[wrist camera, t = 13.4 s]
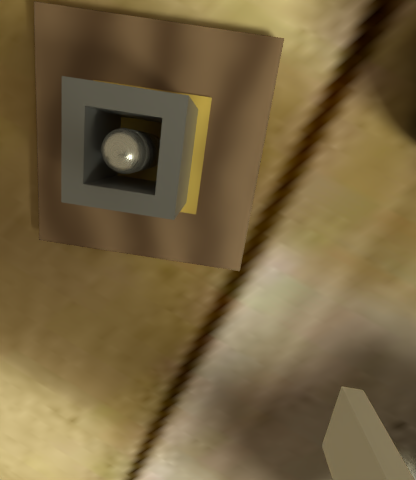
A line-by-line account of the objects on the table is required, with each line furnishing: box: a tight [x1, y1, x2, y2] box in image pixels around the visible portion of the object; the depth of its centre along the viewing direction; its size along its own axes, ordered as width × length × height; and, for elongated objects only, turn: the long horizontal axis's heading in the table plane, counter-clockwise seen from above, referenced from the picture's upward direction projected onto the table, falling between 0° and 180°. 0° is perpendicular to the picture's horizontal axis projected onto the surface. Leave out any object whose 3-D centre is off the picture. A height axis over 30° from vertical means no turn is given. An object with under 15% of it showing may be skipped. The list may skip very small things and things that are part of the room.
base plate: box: [34, 1, 284, 271], centre depth 27 cm, size 20×20×2 cm
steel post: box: [101, 128, 160, 174], centre depth 23 cm, size 3×3×8 cm
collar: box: [61, 76, 198, 220], centre depth 23 cm, size 8×8×7 cm
